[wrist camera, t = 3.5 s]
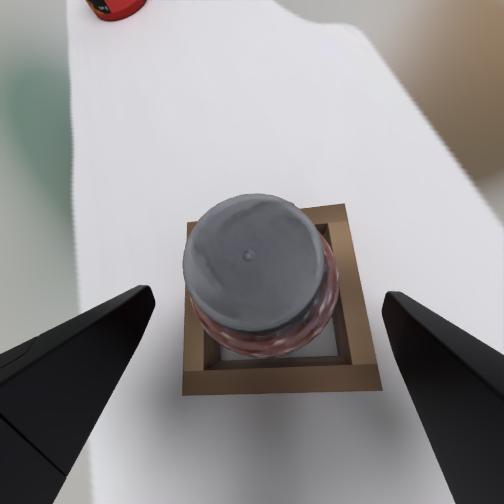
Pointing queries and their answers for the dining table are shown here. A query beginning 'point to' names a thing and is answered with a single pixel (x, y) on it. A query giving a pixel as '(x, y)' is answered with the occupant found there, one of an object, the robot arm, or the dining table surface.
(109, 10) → the canned food
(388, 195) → the dining table surface
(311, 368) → the walnut socket holder
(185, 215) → the dining table surface
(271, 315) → the supplement bottle
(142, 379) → the dining table surface
